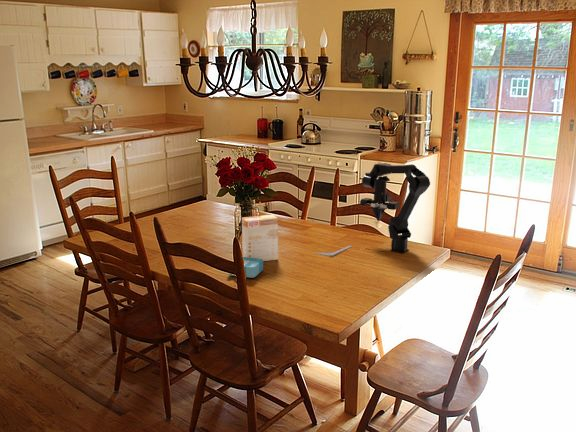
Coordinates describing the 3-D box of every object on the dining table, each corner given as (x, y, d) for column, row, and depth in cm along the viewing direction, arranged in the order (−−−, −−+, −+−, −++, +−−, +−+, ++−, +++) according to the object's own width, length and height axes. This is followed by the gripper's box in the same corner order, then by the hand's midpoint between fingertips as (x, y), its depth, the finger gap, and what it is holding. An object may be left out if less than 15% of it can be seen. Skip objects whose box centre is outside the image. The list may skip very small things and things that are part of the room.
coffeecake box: (273, 255, 246) (273, 214, 242) (278, 259, 240) (278, 217, 235) (242, 258, 241) (241, 216, 236) (246, 263, 234) (245, 220, 230)
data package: (253, 267, 216) (226, 264, 219) (254, 278, 217) (226, 275, 220) (264, 258, 227) (237, 256, 230) (264, 268, 228) (238, 266, 231)
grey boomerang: (351, 248, 257) (352, 246, 257) (331, 257, 243) (331, 255, 243) (326, 242, 266) (326, 241, 266) (305, 251, 252) (305, 249, 252)
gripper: (405, 189, 258) (403, 220, 261) (370, 185, 268) (369, 215, 272) (395, 192, 249) (393, 225, 253) (359, 188, 260) (358, 219, 263)
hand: (378, 220), depth 260 cm, fingers closed
